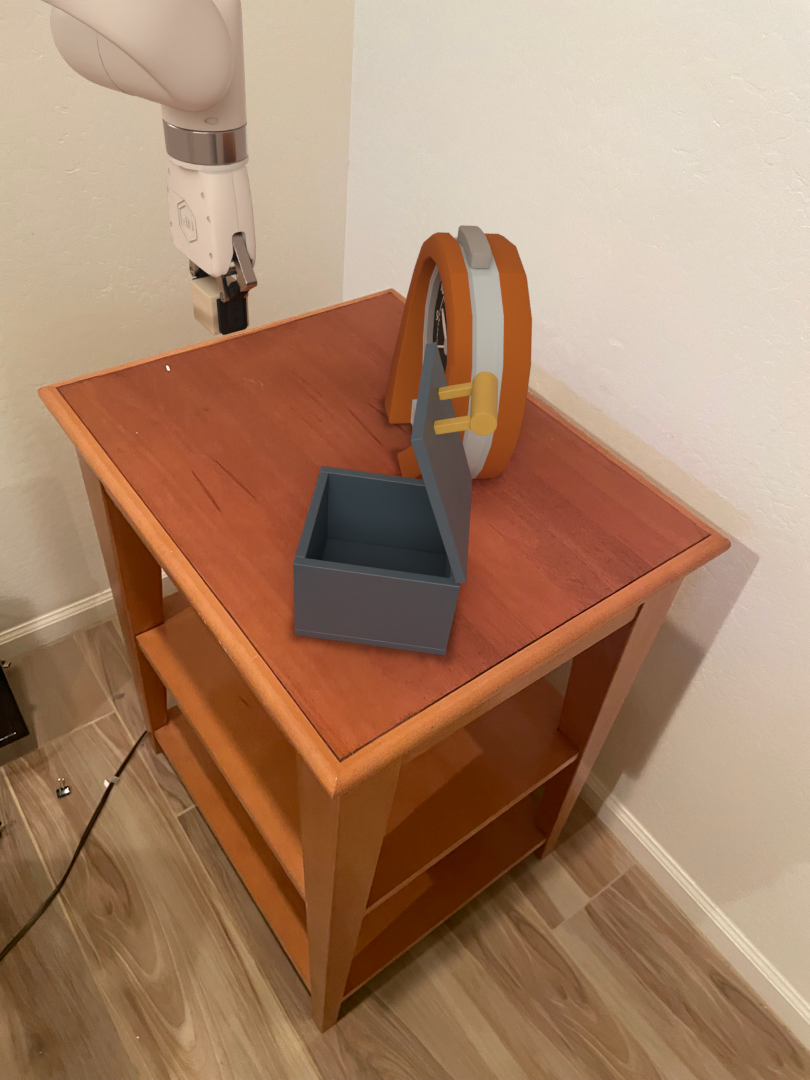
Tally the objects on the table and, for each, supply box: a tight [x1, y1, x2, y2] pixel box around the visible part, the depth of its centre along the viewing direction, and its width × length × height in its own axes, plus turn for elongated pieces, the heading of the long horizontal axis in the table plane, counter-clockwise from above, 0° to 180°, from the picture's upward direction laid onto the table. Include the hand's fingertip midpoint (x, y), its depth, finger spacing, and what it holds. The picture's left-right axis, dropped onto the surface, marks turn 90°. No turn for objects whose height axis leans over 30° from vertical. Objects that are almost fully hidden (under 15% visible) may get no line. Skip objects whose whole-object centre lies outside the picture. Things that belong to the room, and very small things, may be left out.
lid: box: [410, 342, 498, 584], centre depth 53 cm, size 13×12×5 cm
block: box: [189, 275, 250, 336], centre depth 80 cm, size 4×4×4 cm
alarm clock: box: [383, 224, 533, 480], centre depth 73 cm, size 22×10×23 cm, turn 9°
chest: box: [292, 465, 462, 657], centre depth 62 cm, size 13×12×9 cm
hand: (221, 318), depth 81 cm, fingers closed on block, 4 cm apart
